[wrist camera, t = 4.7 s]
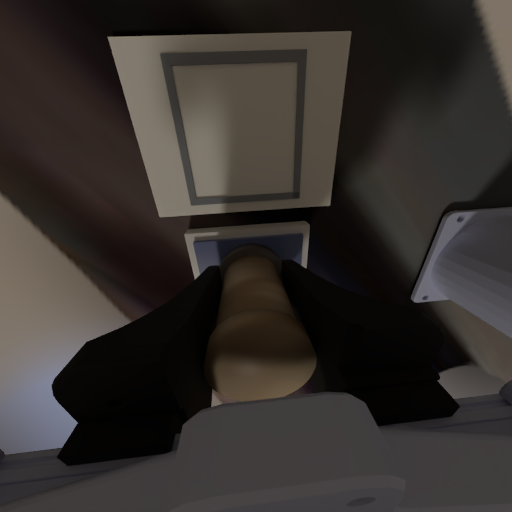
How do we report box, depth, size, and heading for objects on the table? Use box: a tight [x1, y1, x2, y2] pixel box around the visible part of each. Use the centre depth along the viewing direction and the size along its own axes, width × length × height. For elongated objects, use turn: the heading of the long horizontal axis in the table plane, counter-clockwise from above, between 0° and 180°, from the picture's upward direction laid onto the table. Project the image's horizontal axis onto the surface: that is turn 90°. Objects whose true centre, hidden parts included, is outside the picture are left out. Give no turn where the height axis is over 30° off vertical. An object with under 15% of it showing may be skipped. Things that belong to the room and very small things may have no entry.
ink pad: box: [184, 221, 310, 279], centre depth 13 cm, size 8×5×1 cm, turn 93°
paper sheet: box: [108, 31, 352, 217], centre depth 10 cm, size 11×8×1 cm
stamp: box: [203, 243, 317, 402], centre depth 10 cm, size 4×4×7 cm
